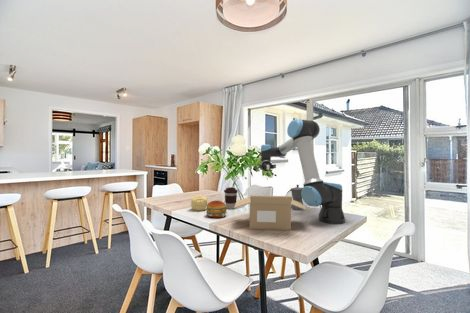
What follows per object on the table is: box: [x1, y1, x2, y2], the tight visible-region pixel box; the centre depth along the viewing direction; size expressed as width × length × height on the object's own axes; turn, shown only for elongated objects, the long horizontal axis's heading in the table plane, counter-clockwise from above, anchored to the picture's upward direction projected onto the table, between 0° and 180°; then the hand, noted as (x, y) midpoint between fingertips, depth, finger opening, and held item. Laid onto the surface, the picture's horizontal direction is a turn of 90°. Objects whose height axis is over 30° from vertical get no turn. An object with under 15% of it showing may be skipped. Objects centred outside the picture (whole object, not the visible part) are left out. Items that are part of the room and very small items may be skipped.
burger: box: [205, 200, 228, 219], centre depth 154 cm, size 14×14×10 cm
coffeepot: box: [290, 184, 304, 211], centre depth 175 cm, size 15×9×18 cm, turn 118°
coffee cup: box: [223, 186, 238, 210], centre depth 176 cm, size 10×10×15 cm
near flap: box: [249, 194, 293, 205], centre depth 123 cm, size 21×9×1 cm
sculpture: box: [190, 194, 208, 212], centre depth 170 cm, size 12×12×11 cm
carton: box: [233, 196, 308, 231], centre depth 140 cm, size 39×27×14 cm
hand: (268, 167), depth 149 cm, fingers closed
